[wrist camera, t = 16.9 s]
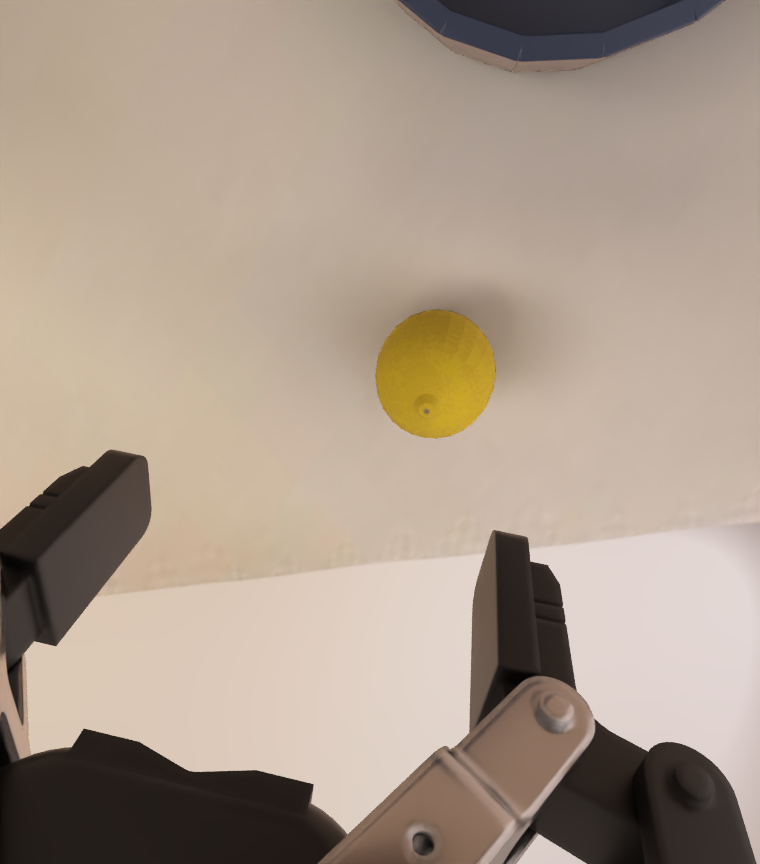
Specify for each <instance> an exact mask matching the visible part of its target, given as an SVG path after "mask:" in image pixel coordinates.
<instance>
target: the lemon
mask: <svg viewBox="0 0 760 864" xmlns="http://www.w3.org/2000/svg"><path fill="white" fill-rule="evenodd" d="M495 372H496V369H495V361H494V355H493V351H492V349H491V346H490V344H489V342H488V340H487V338H486V336H485V335H484V334H483V332H482V331H481V330H480V329H479V328H478V326H477V325H475V324H474V323H473V322H471V321H470V320H469V319H467V318H466V317H464V316H462V315H459V314H457V313H454V312H452V311H444V310H431V311H424V312H421V313H418V314H416V315H413V316H411V317H409V318H407V319H406V320H405V321H403V322H402V323H401V324H399V325H398V326H397V327H396V328H395V329H394V330H393V331H392V333H391V334H390V335H389V336H388V337H387V339H386V340H385V342H384V344H383V347H382V349H381V351H380V353H379V356H378V361H377V368H376V385H377V393H378V396H379V399H380V401H381V404H382V406H383V409H384V410H385V412H386V413H387V414H388V416H389V417H390V418H391V420H392V421H393V422H394V423H396V424H397V425H398V426H399V427H400V428H401V429H403V430H405V431H407V432H409V433H411V434H413V435H417V436H420V437H424V438H441V437H447V436H451V435H453V434H456V433H458V432H460V431H462V430H464V429H465V428H466V427H468V426H469V425H470V424H472V423H473V422H474V421H475V420H476V419H477V418H478V416H479V415H480V414H481V413H482V411H483V410H484V409H485V407H486V405H487V403H488V401H489V398H490V396H491V394H492V391H493V388H494V380H495Z"/></svg>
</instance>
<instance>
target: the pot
mask: <svg viewBox="0 0 760 864" xmlns="http://www.w3.org/2000/svg"><path fill="white" fill-rule="evenodd" d="M394 1H395V2H396V3H397V4H398V5H399V6H400V7H401V8H402V9H403V10H404V11H405V12H406V13H407V14H408V15H409V16H411V17H412V18H413V19H414V20H415V21H417V22H418V23H419V24H420V25H421V26H423V27H424V28H425V29H426V30H427V31H429V32H430V33H431V34H432V35H433V36H435V37H436V38H437V39H438V40H439V41H441V42H442V43H443V44H444V45H445V46H447V47H448V48H449V49H450V50H451V51H454V52H455V53H457V54H460V55H463V56H466V57H469V58H471V59H474V60H477V61H480V62H483V63H485V64H488V65H492V66H495V67H498V68H501V69H504V70H507V71H510V72H512V71H513V72H541V71H560V70H576V69H580V68H583V67H585V66H588V65H590V64H593V63H596V62H598V61H601V60H603V59H606V58H608V57H611V56H613V55H616V54H619V53H621V52H624V51H626V50H629V49H631V48H634V47H636V46H639V45H642V44H644V43H647V42H649V41H651V40H654V39H656V38H659V37H661V36H664V35H666V34H669V33H671V32H674V31H676V30H679V29H681V28H684V27H686V26H688V25H691V24H693V23H694V22H696V21H698V20H700V19H701V18H702V17H704V16H705V15H706V14H708V13H709V12H710V11H712V10H713V9H714V8H716V7H717V6H718V5H720V4H721V3H722V2H724V1H725V0H394Z"/></svg>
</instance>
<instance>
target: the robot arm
mask: <svg viewBox="0 0 760 864" xmlns="http://www.w3.org/2000/svg"><path fill="white" fill-rule="evenodd" d="M150 518H151V497H150V485H149V473H148V463H147V460H146V458H145V457H144V456H141V455H136V454H131V453H126V452H122V451H117V450H109V451H107V452H106V453H104V454H103V455H102V456H101V457H100V458H99V459H98V460H97V461H96V462H95V463H94V464H93V465H91V466H90V467H85V466H82V467H80V468H78V469H75V470H73V471H71V472H69V473H67V474H65V475H63V476H61V477H59V478H58V479H57V480H56V481H55V482H53V483H52V484H51V485H50V486H49V487H48V488H47V489H46V490H44V491H43V494H42V495H41V494H40V495H39V496H38V497H36V498H35V499H34V500H33V501H32V502H31V503H30V506H29V507H28V506H26V507H25V508H24V509H23V510H22V511H21V512H20V513H18V514H17V515H16V516H15V517H14V518H13V519H12V520H10V521H9V522H8V523H7V524H6V525H5V526H4V527H3V528H1V529H0V864H516V863H517V862H518V861H519V859H520V858H521V857H522V855H523V854H524V852H525V851H526V850H527V849H528V847H529V846H530V845H531V843H532V842H533V841H534V839H535V838H536V837H537V835H538V834H540V835H542V836H543V837H545V838H546V839H548V840H550V841H551V842H553V843H555V844H556V845H558V846H559V847H561V848H563V849H564V850H566V851H568V852H569V853H571V854H572V855H574V856H576V857H577V858H579V859H581V860H582V861H584V862H585V863H587V864H756V861H755V858H754V854H753V851H752V848H751V844H750V841H749V838H748V834H747V831H746V828H745V825H744V822H743V818H742V815H741V811H740V808H739V805H738V801H737V798H736V796H735V793H734V790H733V789H732V787H731V785H730V783H729V782H728V780H727V779H726V777H725V776H724V774H723V773H722V772H721V771H720V770H719V769H718V767H717V766H715V765H714V764H713V763H712V762H711V761H710V760H709V759H707V758H706V757H705V756H704V755H702V754H701V753H699V752H697V751H696V750H694V749H692V748H690V747H688V746H685V745H682V744H679V743H673V742H665V743H659V744H657V745H655V746H653V747H652V748H651V749H650V750H649V752H648V751H646V750H644V749H642V748H640V747H638V746H636V745H634V744H633V743H630V742H629V741H627V740H625V739H623V738H621V737H619V736H617V735H616V734H614V733H612V732H610V731H609V730H607V729H606V728H605V727H603V726H602V725H601V724H600V723H598V721H596V720H595V719H594V717H593V714H592V711H591V710H590V707H589V705H588V704H587V702H586V701H585V700H584V698H583V697H582V696H581V695H580V694H579V693H578V692H577V690H576V686H575V679H574V673H573V666H572V660H571V654H570V647H569V640H568V634H567V627H566V625H565V614H564V609H563V608H562V607H563V602H562V595H561V589H560V584H559V582H558V581H557V579H556V578H555V576H554V575H553V573H552V571H551V570H550V568H549V567H548V565H544V564H539V563H534V562H530V554H529V543H528V538H527V537H525V536H520V535H515V534H510V533H505V532H501V531H496V530H493V532H492V534H491V536H490V539H489V543H488V546H487V549H486V553H485V556H484V559H483V562H482V566H481V569H480V572H479V576H478V579H477V583H476V587H475V592H474V599H473V613H472V650H471V689H470V690H471V691H470V692H471V693H470V730H469V732H470V733H469V734H468V735H467V736H466V737H465V738H464V739H463V740H462V741H461V742H460V743H459V744H458V745H457V746H455V747H454V748H452V749H449V748H448V747H447V746H444V747H442V748H440V749H438V750H437V751H436V752H434V753H433V754H432V755H431V756H430V757H429V758H428V759H427V760H426V761H425V762H423V763H422V764H421V765H420V766H419V767H418V768H417V769H416V770H415V771H414V772H413V773H412V774H411V775H410V776H409V777H408V778H407V779H406V780H405V781H404V782H402V783H401V784H400V785H399V786H398V787H397V788H396V789H395V790H394V791H393V792H392V793H391V794H390V795H389V796H388V797H387V798H386V799H385V800H384V801H383V802H382V803H381V804H379V806H377V807H376V808H375V809H374V810H373V811H372V812H371V813H370V814H369V815H368V816H367V817H366V818H365V819H364V820H363V821H362V822H360V824H358V825H357V826H356V827H355V828H354V829H353V830H352V831H351V832H350V833H349V834H348V835H347V833H346V832H345V831H344V830H343V829H342V828H341V826H340V825H339V824H338V823H337V822H336V821H335V820H334V819H333V818H331V817H330V816H329V815H328V814H326V813H325V812H324V811H322V810H321V809H319V808H318V807H316V806H314V805H313V804H311V799H312V792H313V784H310V783H306V782H302V781H298V780H294V779H289V778H285V777H281V776H276V775H273V774H269V773H265V772H260V771H257V770H252V771H218V772H191V771H188V770H186V769H184V768H182V767H180V766H179V765H177V764H175V763H174V762H172V761H170V760H168V759H167V758H165V757H163V756H162V755H160V754H158V753H157V752H155V751H153V750H152V749H150V748H148V747H146V746H145V745H143V744H141V743H140V742H137V741H133V740H129V739H124V738H120V737H116V736H112V735H108V734H104V733H99V732H96V731H91V730H87V729H83V731H82V732H81V734H80V736H79V737H78V739H77V740H76V742H75V743H74V745H73V746H72V747H70V748H60V749H54V750H48V751H45V752H41V753H37V754H33V755H31V753H30V745H29V733H28V707H27V680H26V660H25V655H24V653H25V651H26V650H27V649H28V648H29V646H30V645H31V644H32V643H33V642H34V641H36V642H40V643H44V644H49V645H53V646H57V644H58V643H59V642H60V640H61V639H62V638H63V637H64V635H65V634H66V633H67V631H68V630H69V629H70V628H71V626H72V625H73V624H74V623H75V621H76V620H77V619H78V618H79V616H80V615H81V614H82V612H83V611H84V610H85V609H86V607H87V606H88V605H89V603H90V602H91V601H92V600H93V598H94V597H95V596H96V595H97V593H98V592H99V591H100V590H101V588H102V587H103V586H104V585H105V583H106V582H107V581H108V579H109V578H110V577H111V576H112V574H113V573H114V572H115V571H116V569H117V568H118V567H119V565H120V564H121V563H122V562H123V560H124V559H125V558H126V557H127V555H128V554H129V553H130V551H131V550H132V549H133V548H134V546H135V545H136V544H137V543H138V541H139V540H140V539H141V538H142V536H143V535H144V533H145V531H146V529H147V527H148V525H149V522H150Z"/></svg>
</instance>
